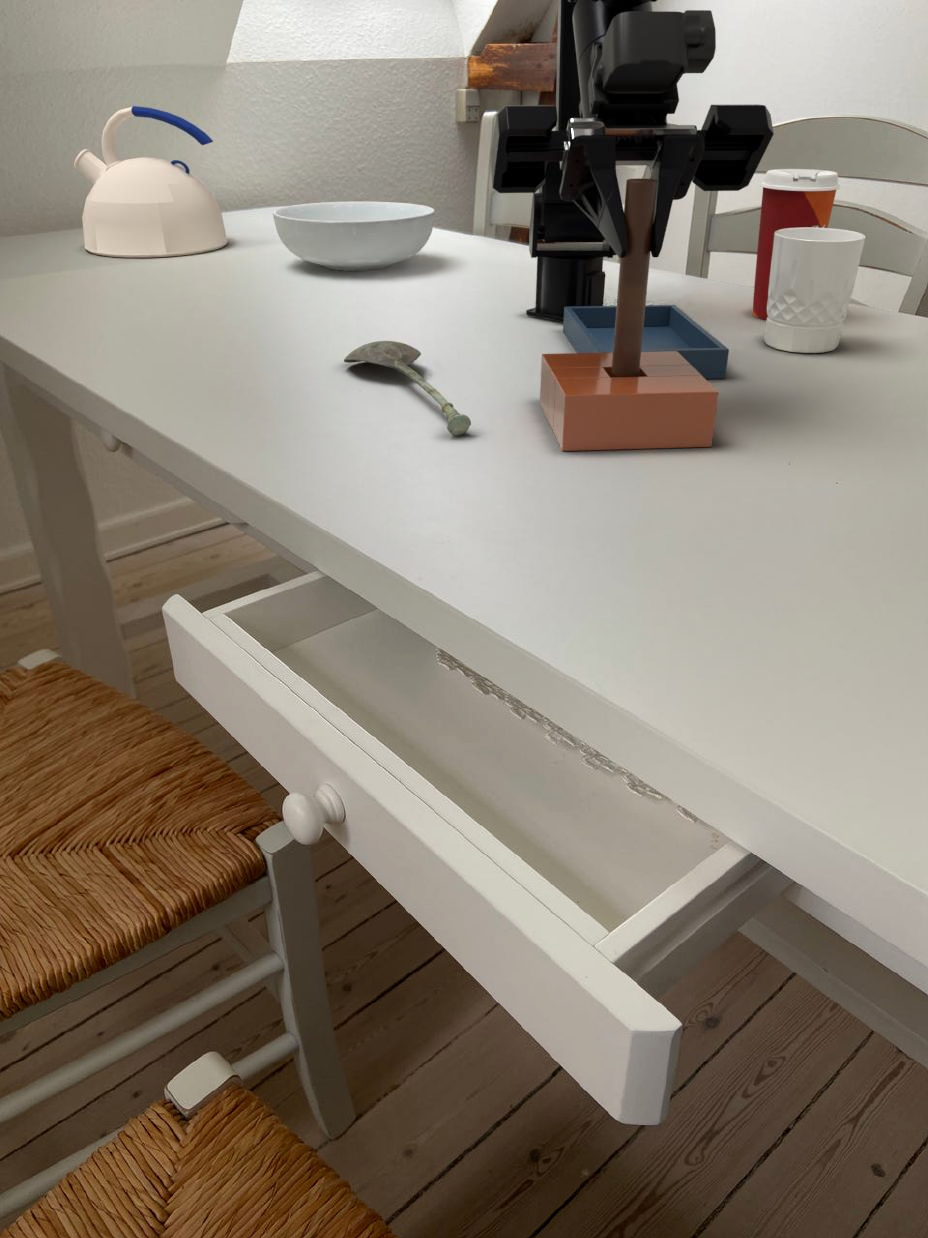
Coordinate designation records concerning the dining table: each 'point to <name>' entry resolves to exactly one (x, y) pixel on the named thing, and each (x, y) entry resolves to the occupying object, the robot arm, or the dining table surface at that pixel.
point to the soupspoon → (398, 359)
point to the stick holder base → (626, 402)
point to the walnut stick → (633, 277)
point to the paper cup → (789, 216)
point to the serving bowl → (354, 232)
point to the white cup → (811, 287)
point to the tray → (648, 335)
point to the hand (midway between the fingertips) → (640, 253)
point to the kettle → (147, 199)
